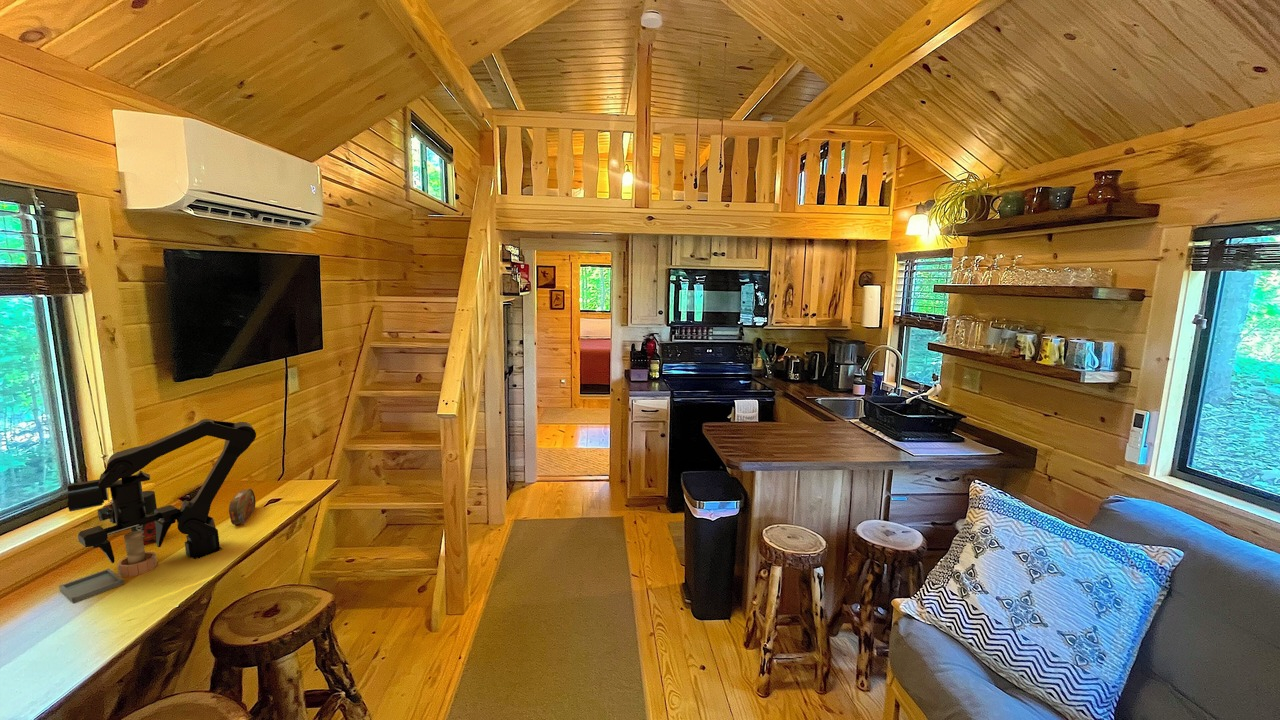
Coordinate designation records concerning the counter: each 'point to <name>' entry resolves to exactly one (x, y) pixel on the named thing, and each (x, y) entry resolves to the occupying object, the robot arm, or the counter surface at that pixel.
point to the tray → (91, 585)
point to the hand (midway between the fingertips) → (136, 554)
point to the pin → (135, 547)
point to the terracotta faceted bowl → (137, 565)
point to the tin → (242, 507)
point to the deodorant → (148, 528)
